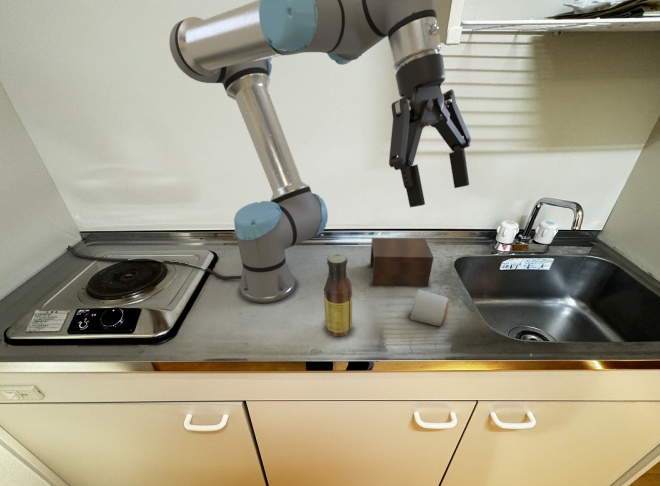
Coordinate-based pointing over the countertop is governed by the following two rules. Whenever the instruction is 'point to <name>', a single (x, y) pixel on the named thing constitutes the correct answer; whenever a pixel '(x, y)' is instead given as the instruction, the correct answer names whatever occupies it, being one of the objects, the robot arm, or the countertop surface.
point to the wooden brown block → (400, 262)
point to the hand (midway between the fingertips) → (440, 195)
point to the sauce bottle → (338, 297)
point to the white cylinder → (430, 308)
